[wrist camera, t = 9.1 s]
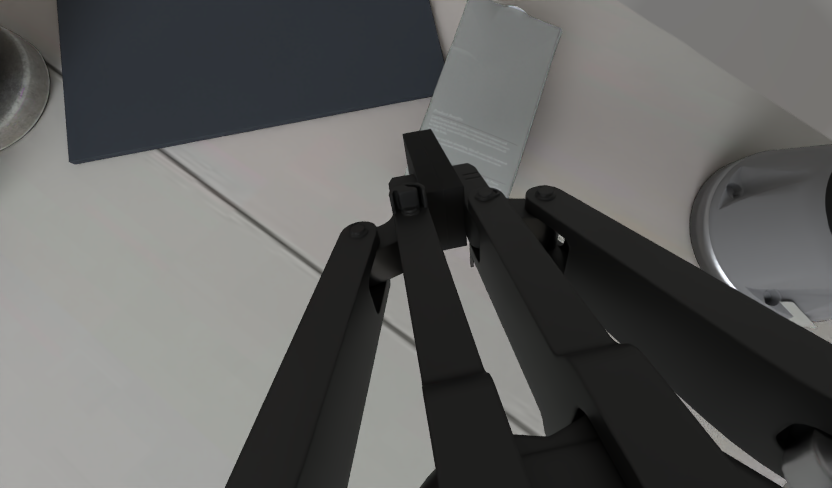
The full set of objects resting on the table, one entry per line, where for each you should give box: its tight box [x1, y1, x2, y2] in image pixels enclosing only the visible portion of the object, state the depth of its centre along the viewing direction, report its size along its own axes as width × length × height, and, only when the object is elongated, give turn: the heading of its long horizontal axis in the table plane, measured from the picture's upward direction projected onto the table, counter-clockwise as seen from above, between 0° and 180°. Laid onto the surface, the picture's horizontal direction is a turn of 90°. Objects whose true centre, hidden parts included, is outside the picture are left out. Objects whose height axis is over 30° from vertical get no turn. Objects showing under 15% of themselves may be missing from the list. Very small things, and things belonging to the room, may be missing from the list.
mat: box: [57, 0, 444, 164], centre depth 32 cm, size 36×22×1 cm, turn 102°
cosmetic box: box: [405, 0, 562, 198], centre depth 28 cm, size 8×7×16 cm
